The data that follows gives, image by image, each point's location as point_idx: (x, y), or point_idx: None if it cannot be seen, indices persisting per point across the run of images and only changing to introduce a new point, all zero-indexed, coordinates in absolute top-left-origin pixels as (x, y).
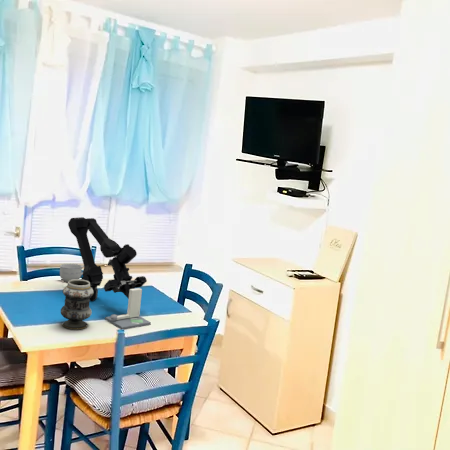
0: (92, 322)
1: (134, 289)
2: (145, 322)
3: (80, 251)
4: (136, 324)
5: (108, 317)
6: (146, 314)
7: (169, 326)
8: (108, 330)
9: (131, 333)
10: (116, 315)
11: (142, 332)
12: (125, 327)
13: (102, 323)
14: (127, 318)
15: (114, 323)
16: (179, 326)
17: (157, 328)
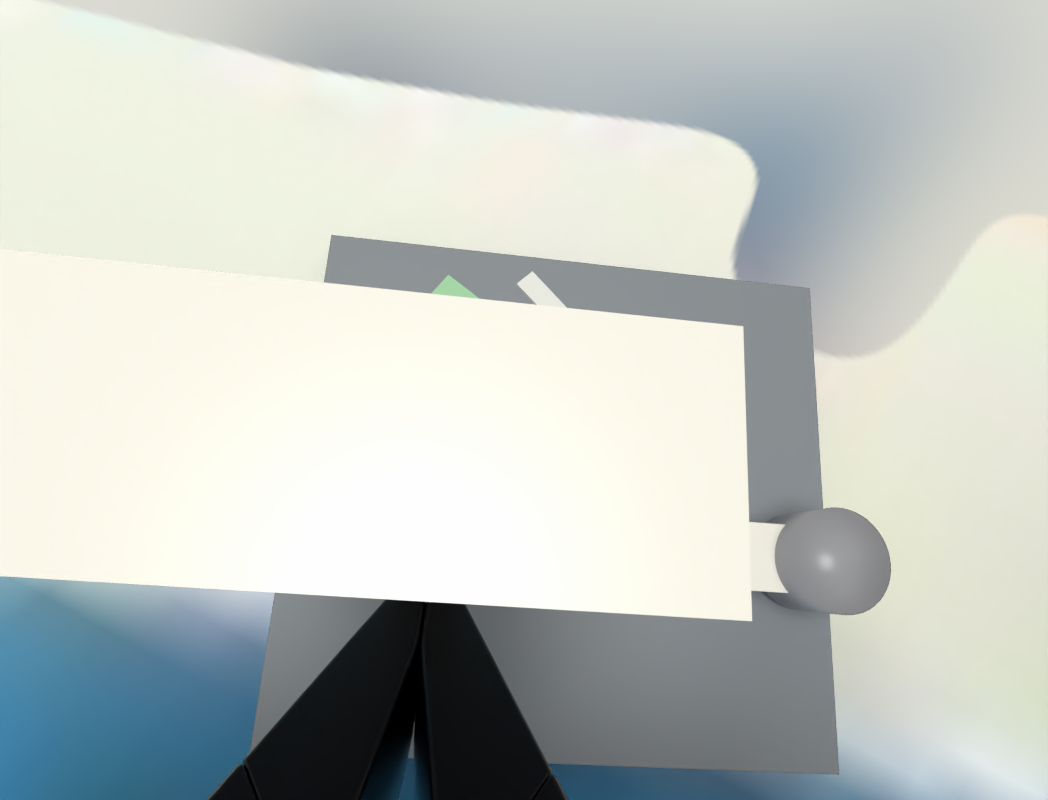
0: (1037, 735)
1: (492, 431)
2: (403, 271)
3: None
4: (574, 277)
5: (797, 734)
6: (25, 641)
7: (153, 82)
8: (953, 374)
9: (748, 167)
10: (810, 537)
11: (612, 124)
12: (760, 285)
13: (922, 627)
14: None
15: (816, 484)
16: (31, 15)
17: (354, 116)
